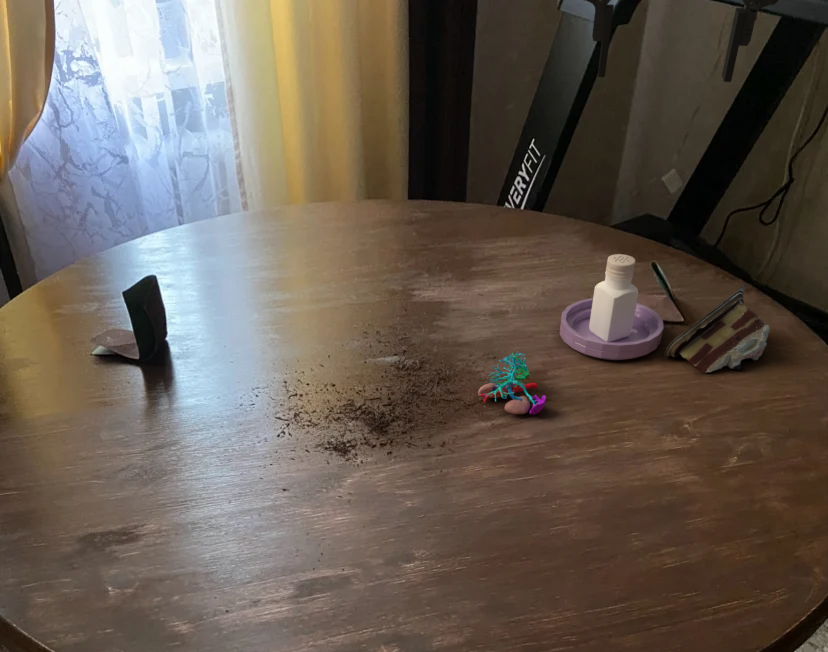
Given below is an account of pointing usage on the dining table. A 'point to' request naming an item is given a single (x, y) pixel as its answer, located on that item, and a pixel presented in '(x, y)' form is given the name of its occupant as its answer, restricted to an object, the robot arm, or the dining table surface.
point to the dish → (632, 346)
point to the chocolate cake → (722, 336)
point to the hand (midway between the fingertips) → (663, 76)
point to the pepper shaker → (614, 300)
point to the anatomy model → (513, 388)
